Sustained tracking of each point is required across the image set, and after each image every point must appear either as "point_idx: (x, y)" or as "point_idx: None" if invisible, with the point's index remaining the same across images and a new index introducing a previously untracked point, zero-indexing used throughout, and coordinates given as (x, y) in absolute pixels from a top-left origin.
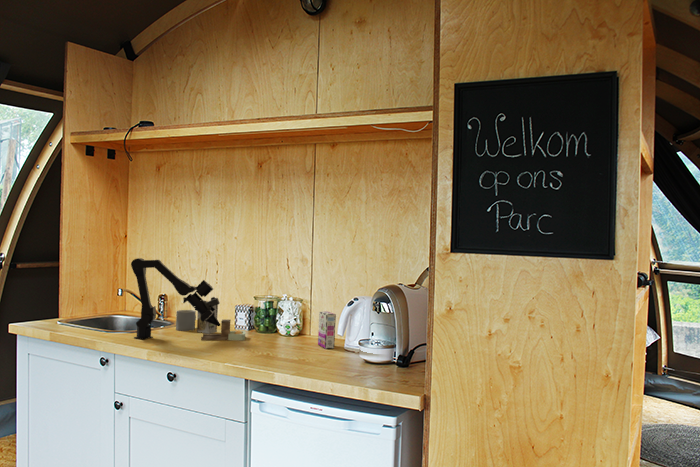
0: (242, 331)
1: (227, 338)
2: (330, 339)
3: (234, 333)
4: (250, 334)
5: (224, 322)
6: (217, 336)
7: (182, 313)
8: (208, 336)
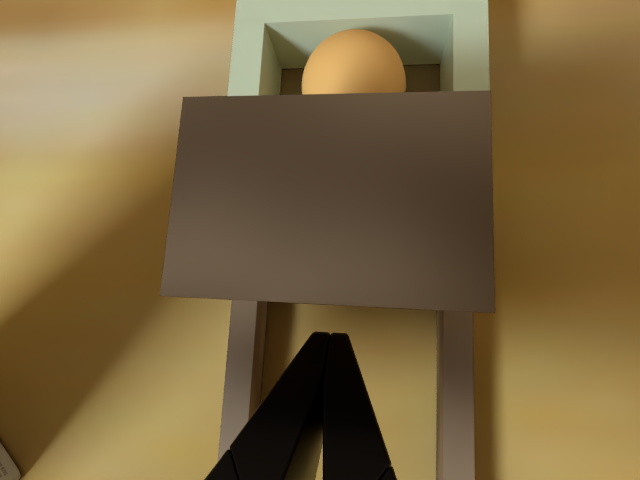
0: (262, 29)
1: None
2: None
3: None
4: (114, 8)
5: (483, 231)
6: (259, 356)
7: None
8: None
